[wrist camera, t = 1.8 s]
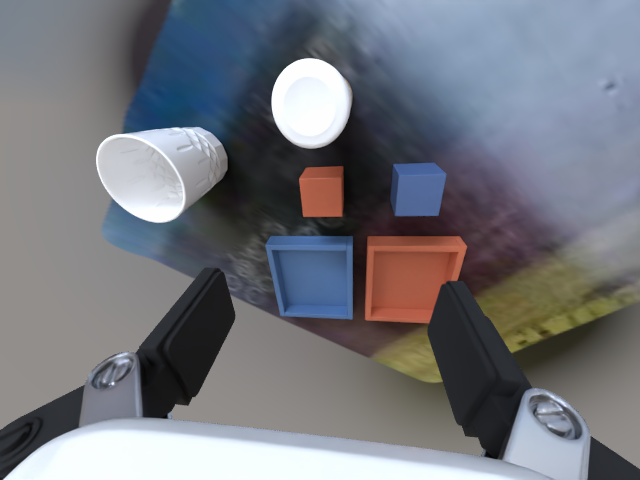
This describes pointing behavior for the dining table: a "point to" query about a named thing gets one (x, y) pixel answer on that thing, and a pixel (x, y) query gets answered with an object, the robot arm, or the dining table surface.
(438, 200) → the slate-blue block
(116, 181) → the white cup
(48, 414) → the robot arm
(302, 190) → the terracotta block
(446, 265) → the terracotta tray
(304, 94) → the sprinkles bottle
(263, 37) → the dining table surface
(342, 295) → the slate-blue tray
